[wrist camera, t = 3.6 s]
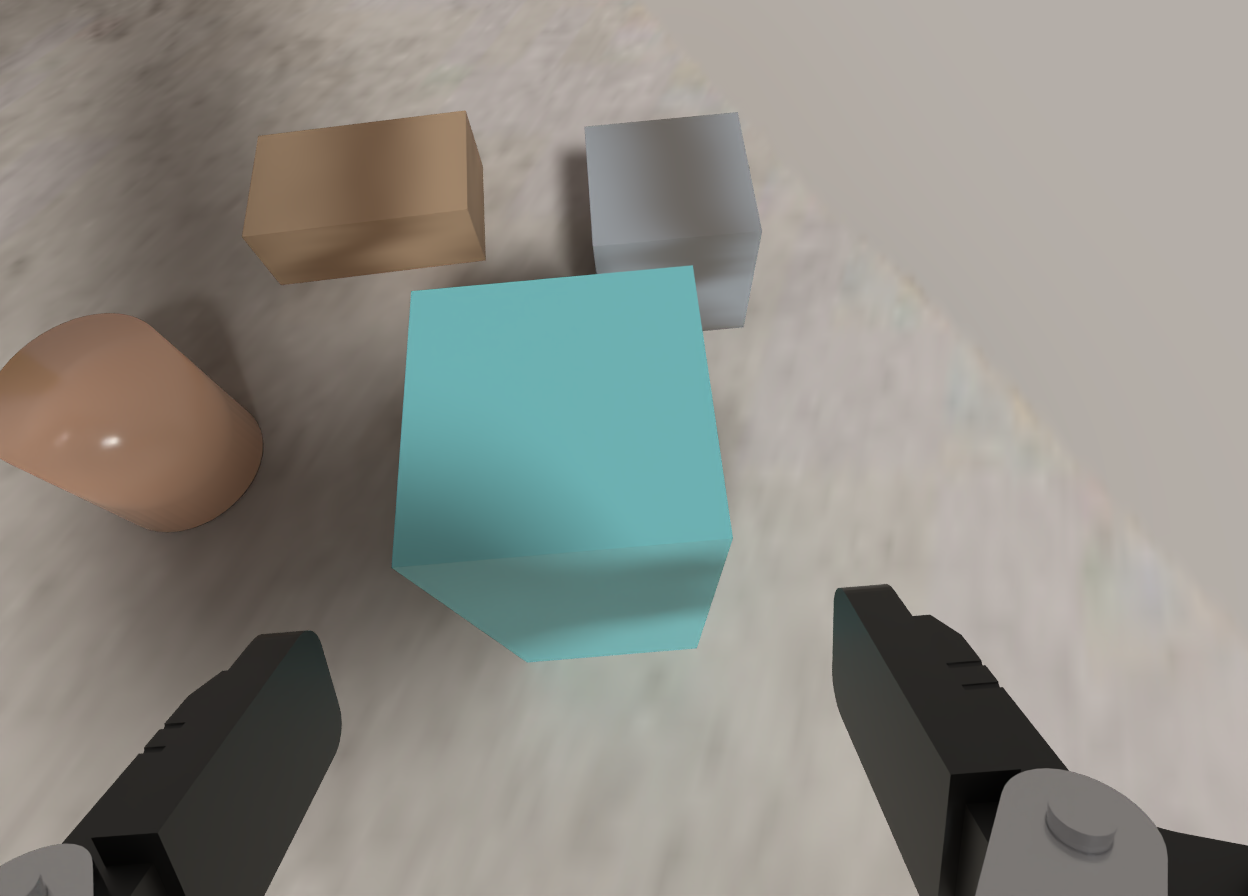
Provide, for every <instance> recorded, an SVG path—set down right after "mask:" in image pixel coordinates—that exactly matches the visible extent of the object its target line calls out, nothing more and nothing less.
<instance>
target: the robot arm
mask: <svg viewBox="0 0 1248 896" xmlns="http://www.w3.org/2000/svg"><path fill="white" fill-rule="evenodd" d="M832 676H833V686H834V692H835V698H836V702H837V706H838V709H839V712H840V715H841V717H842V719H843V722H844V724H845V726H846V729H847V731H848V733H849V735H850V738H851V740H852V742H853V745H854V747H855V749H856V752H857V754H858V756H859V758H860V761H861V763H862V765H863V768H864V770H865V772H866V774H867V777H868V779H869V781H870V784H871V786H872V788H873V791H874V793H875V795H876V797H877V800H878V802H879V804H880V807H881V809H882V811H883V813H884V816H885V818H886V820H887V823H888V825H889V827H890V829H891V832H892V834H893V836H894V839H895V841H896V843H897V846H898V848H899V850H900V852H901V855H902V857H903V859H904V862H905V864H906V866H907V868H908V871H909V873H910V875H911V878H912V880H913V882H914V885H915V887H916V889H917V891H918V894H919V896H1248V846H1247V845H1241V844H1236V843H1231V842H1226V841H1220V840H1215V839H1210V838H1204V837H1199V836H1194V835H1189V834H1183V833H1178V832H1174V831H1170V830H1166V829H1162V828H1159V827H1156V825H1155V824H1154V823H1153V822H1152V820H1151V819H1150V818H1149V817H1148V816H1147V815H1146V814H1145V813H1144V812H1143V811H1142V810H1141V809H1140V808H1139V807H1138V806H1137V805H1136V804H1135V803H1133V802H1132V801H1131V800H1130V799H1128V798H1127V797H1126V796H1124V795H1123V794H1121V793H1120V792H1118V791H1116V790H1115V789H1113V788H1111V787H1109V786H1108V785H1106V784H1104V783H1102V782H1100V781H1097V780H1095V779H1092V778H1090V777H1088V776H1085V775H1081V774H1078V773H1075V772H1071V771H1069V770H1068V769H1067V768H1066V766H1065V765H1064V764H1063V763H1062V761H1061V760H1060V759H1059V758H1058V756H1057V755H1056V754H1055V753H1054V751H1053V750H1052V749H1051V747H1050V746H1049V745H1048V744H1047V742H1046V741H1045V740H1044V739H1043V737H1042V736H1041V735H1040V734H1039V732H1038V731H1037V730H1036V729H1035V727H1034V726H1033V725H1032V724H1031V722H1030V721H1029V720H1028V718H1027V717H1026V716H1025V715H1024V713H1023V712H1022V711H1021V710H1020V708H1019V707H1018V706H1017V705H1016V703H1015V702H1014V701H1013V700H1012V698H1011V697H1010V696H1009V694H1008V693H1007V692H1006V691H1005V689H1004V688H1003V687H999V684H998V681H997V679H996V678H995V677H994V676H993V674H992V673H991V672H990V671H989V669H988V668H987V667H986V665H984V666H983V665H982V662H981V659H980V658H979V657H978V655H977V654H976V653H975V652H974V650H973V649H972V648H971V647H970V645H969V644H968V643H967V641H966V640H965V639H964V638H963V636H962V635H961V634H959V633H958V632H956V631H954V630H953V629H951V628H950V627H948V626H947V625H945V624H944V623H942V622H941V621H939V620H938V619H936V618H934V617H933V616H931V615H921V616H912V615H911V613H910V612H909V611H908V609H907V608H906V606H905V605H904V604H903V602H902V601H901V599H900V598H899V597H898V595H897V594H896V592H895V591H894V590H893V588H892V587H891V586H890V585H888V584H882V585H870V586H858V587H846V588H838V589H837V590H836V592H835V596H834V617H833V660H832ZM341 725H342V721H341V711H340V707H339V704H338V700H337V697H336V693H335V690H334V686H333V683H332V680H331V676H330V673H329V669H328V666H327V662H326V659H325V656H324V652H323V649H322V645H321V642H320V640H319V638H318V636H317V635H316V634H315V633H314V632H313V631H296V632H284V633H272V634H261V635H259V636H257V637H256V638H255V639H254V640H253V641H252V642H251V643H250V644H249V645H248V647H247V648H246V649H245V650H244V651H243V653H242V654H241V655H240V656H239V658H238V659H237V660H236V661H235V662H234V664H233V665H232V666H231V667H230V669H229V670H228V671H222V672H220V673H219V674H218V675H216V676H215V677H213V678H212V679H211V680H209V681H208V682H207V683H205V684H204V685H203V686H201V687H200V688H198V689H197V690H196V691H194V692H193V693H192V694H190V695H189V696H188V697H187V698H186V699H185V700H184V702H183V703H182V704H181V705H180V706H179V707H178V709H177V710H176V711H175V712H174V713H173V714H172V716H171V717H170V718H169V719H168V720H167V721H166V723H165V727H164V729H161V730H159V731H158V732H157V733H156V734H155V735H154V737H153V738H152V739H151V740H150V741H149V742H148V744H147V745H146V746H145V747H144V753H143V754H138V755H137V757H136V758H135V759H134V760H133V761H132V762H131V764H130V765H129V766H128V767H127V768H126V769H125V771H124V772H123V773H122V774H121V775H120V776H119V778H118V779H117V780H116V781H115V782H114V783H113V785H112V786H111V787H110V788H109V789H108V790H107V792H106V793H105V794H104V795H103V796H102V797H101V799H100V800H99V801H98V802H97V803H96V804H95V806H94V807H93V808H92V809H91V810H90V811H89V813H88V814H87V815H86V816H85V817H84V818H83V820H82V821H81V822H80V823H79V824H78V825H77V827H76V828H75V829H74V830H73V831H72V832H71V834H70V835H69V836H68V837H67V838H66V839H65V841H64V842H63V843H62V844H57V845H51V846H47V847H43V848H40V849H37V850H34V851H31V852H28V853H26V854H23V855H21V856H19V857H17V858H14V859H13V860H11V861H9V862H7V863H5V864H3V865H1V866H0V896H264V895H265V893H266V891H267V889H268V887H269V885H270V883H271V881H272V879H273V877H274V875H275V873H276V871H277V869H278V867H279V865H280V863H281V861H282V859H283V857H284V855H285V853H286V851H287V849H288V847H289V845H290V843H291V842H292V840H293V838H294V836H295V834H296V832H297V830H298V828H299V826H300V824H301V822H302V820H303V818H304V816H305V814H306V812H307V810H308V808H309V806H310V804H311V802H312V800H313V798H314V796H315V794H316V792H317V790H318V788H319V786H320V784H321V782H322V780H323V778H324V776H325V774H326V772H327V770H328V768H329V766H330V764H331V762H332V760H333V758H334V756H335V754H336V751H337V749H338V746H339V742H340V736H341Z"/></svg>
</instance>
